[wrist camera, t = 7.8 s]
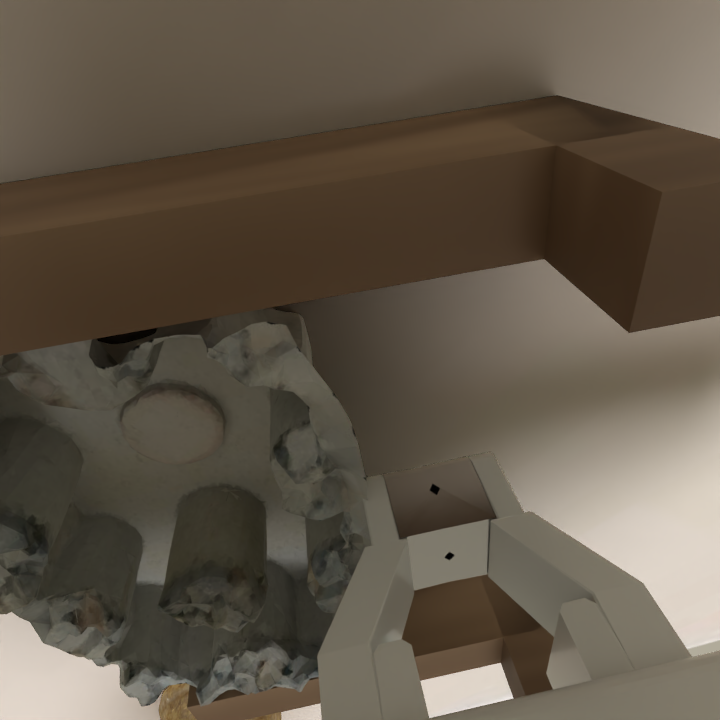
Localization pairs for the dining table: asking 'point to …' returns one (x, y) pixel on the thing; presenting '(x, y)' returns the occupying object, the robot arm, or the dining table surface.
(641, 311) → the walled channel
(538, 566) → the robot arm
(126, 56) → the dining table surface
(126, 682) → the egg carton
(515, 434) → the dining table surface
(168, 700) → the sprinkles bottle
